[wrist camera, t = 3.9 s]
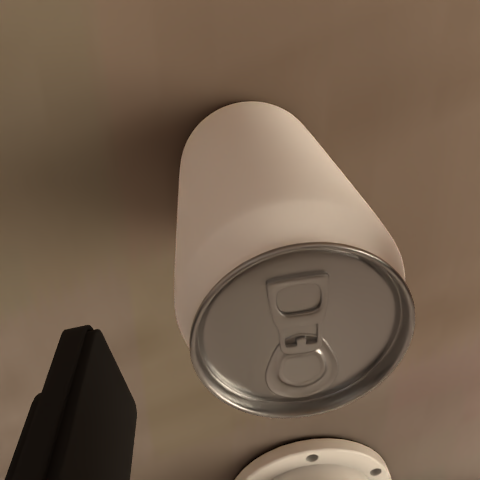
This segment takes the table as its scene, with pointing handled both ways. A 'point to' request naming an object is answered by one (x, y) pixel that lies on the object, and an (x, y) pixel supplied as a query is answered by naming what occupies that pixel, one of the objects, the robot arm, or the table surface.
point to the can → (282, 269)
